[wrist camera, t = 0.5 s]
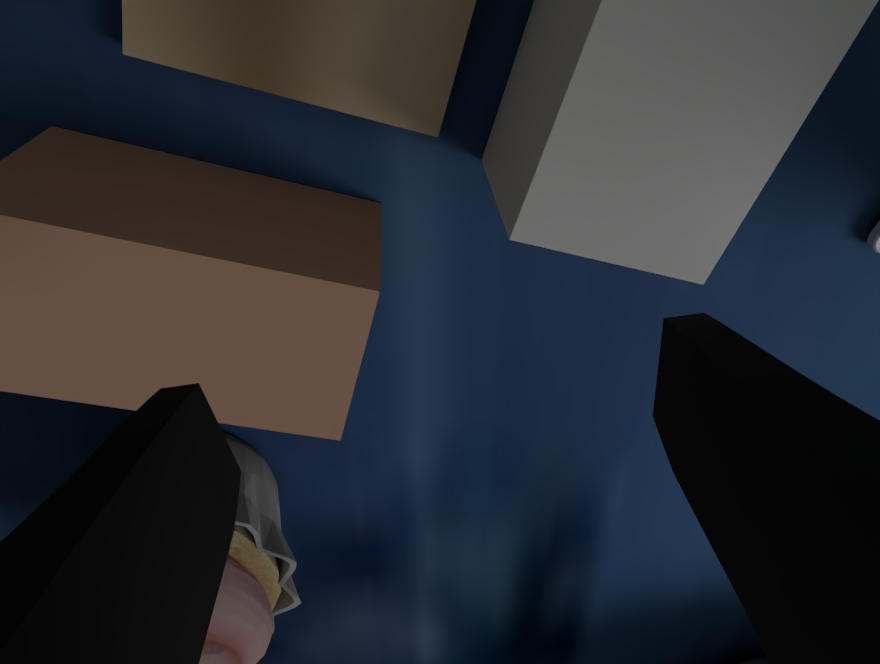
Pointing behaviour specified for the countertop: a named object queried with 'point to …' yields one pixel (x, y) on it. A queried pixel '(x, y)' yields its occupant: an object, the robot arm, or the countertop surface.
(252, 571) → the cupcake
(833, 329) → the countertop surface
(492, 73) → the countertop surface
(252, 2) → the coaster
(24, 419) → the countertop surface
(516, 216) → the block
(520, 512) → the countertop surface
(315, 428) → the tan cardboard brick
